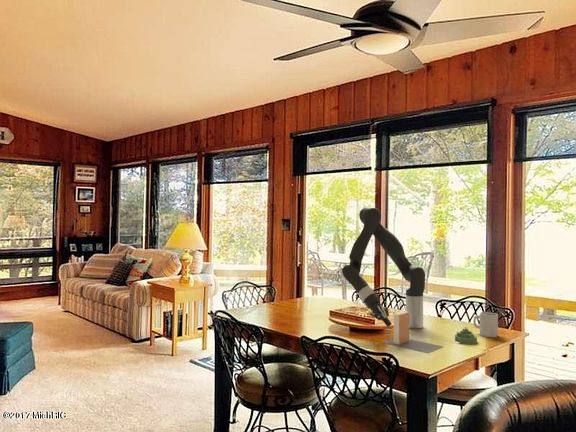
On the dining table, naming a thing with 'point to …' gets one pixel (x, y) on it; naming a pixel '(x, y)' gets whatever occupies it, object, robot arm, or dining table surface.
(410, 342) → the mat
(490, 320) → the mug
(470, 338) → the decorative artifact
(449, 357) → the dining table surface
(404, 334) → the orange white box
